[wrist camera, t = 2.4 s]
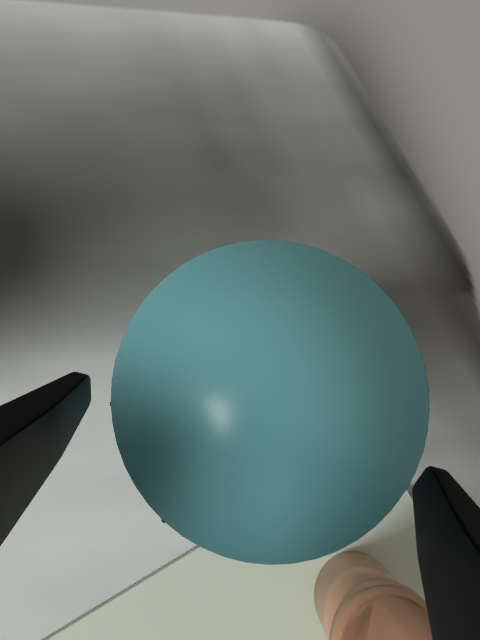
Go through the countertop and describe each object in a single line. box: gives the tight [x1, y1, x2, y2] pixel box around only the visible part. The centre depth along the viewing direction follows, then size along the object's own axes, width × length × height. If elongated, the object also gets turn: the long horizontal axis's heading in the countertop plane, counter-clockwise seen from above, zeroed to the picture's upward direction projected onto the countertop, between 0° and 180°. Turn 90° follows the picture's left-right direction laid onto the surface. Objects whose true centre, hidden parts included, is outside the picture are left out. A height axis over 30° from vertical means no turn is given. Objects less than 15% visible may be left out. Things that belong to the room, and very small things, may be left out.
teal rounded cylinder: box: [110, 240, 429, 565], centre depth 13 cm, size 7×7×11 cm
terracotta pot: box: [314, 551, 432, 640], centre depth 14 cm, size 4×4×4 cm
